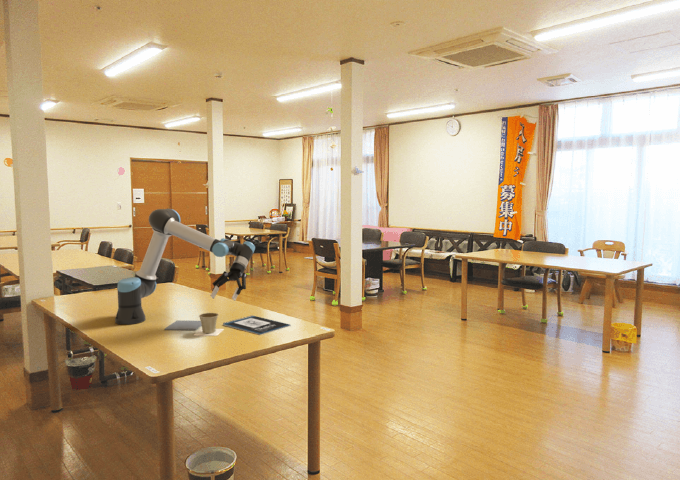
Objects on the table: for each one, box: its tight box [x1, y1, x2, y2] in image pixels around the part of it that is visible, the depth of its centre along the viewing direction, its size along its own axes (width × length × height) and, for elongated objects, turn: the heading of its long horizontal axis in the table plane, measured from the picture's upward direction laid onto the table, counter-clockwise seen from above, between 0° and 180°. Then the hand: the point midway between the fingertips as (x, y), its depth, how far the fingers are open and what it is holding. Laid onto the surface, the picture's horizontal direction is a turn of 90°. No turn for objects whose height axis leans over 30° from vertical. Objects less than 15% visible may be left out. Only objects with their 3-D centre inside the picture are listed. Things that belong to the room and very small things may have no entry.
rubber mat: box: [164, 319, 202, 331], centre depth 242 cm, size 16×16×1 cm
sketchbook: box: [222, 315, 291, 336], centre depth 243 cm, size 22×30×2 cm
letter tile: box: [192, 328, 225, 337], centre depth 230 cm, size 12×12×1 cm
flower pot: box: [198, 312, 219, 333], centre depth 230 cm, size 9×9×9 cm
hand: (222, 298), depth 239 cm, fingers open, 13 cm apart
